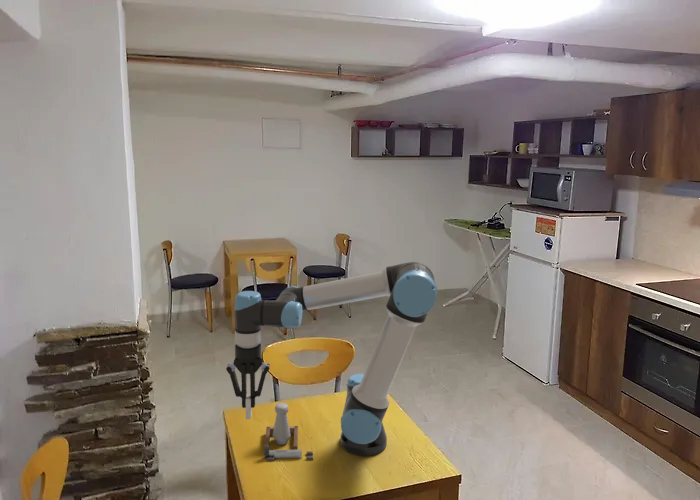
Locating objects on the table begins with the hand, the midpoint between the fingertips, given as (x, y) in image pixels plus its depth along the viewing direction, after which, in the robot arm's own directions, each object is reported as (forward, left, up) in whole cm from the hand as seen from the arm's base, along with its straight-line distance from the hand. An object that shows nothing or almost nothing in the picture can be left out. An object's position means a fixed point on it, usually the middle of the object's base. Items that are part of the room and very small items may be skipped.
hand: (248, 416), depth 165 cm
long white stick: (-9, -4, -14) cm, 17 cm away
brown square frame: (-8, -11, -14) cm, 20 cm away
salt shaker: (-5, -12, -14) cm, 19 cm away
